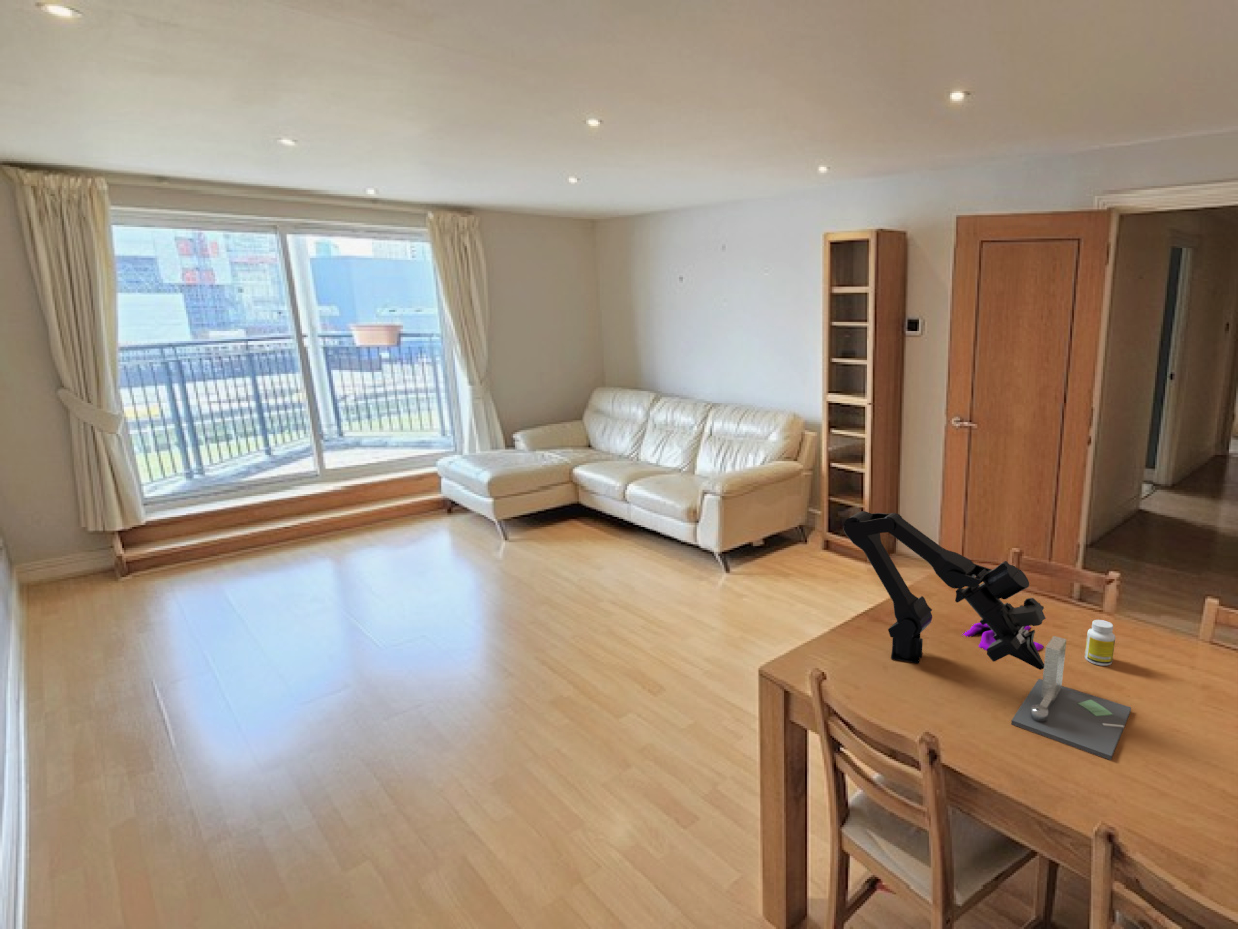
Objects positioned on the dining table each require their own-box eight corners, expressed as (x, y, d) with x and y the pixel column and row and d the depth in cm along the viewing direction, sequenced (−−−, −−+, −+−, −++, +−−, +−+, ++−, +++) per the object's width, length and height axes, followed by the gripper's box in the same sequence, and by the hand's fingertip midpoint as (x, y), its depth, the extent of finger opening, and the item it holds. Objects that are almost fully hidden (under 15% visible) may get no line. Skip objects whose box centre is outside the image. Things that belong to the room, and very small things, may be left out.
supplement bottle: (1116, 667, 154) (1121, 629, 151) (1090, 666, 155) (1095, 628, 152) (1105, 655, 159) (1109, 618, 156) (1080, 654, 160) (1084, 617, 157)
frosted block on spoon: (1045, 723, 134) (1051, 666, 131) (1028, 718, 136) (1033, 661, 133) (1065, 688, 145) (1071, 634, 142) (1050, 683, 147) (1055, 630, 144)
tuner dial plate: (1112, 761, 124) (1112, 755, 124) (1011, 724, 137) (1011, 719, 136) (1131, 711, 138) (1132, 706, 137) (1038, 682, 150) (1038, 677, 150)
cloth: (1020, 620, 179) (1022, 599, 177) (1061, 656, 161) (1064, 633, 159) (937, 623, 180) (938, 603, 179) (968, 659, 162) (970, 637, 161)
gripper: (1006, 607, 136) (1064, 672, 130) (1032, 577, 148) (1086, 636, 143) (964, 630, 143) (1017, 692, 138) (992, 599, 155) (1042, 656, 150)
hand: (1042, 668), depth 142 cm, fingers closed
